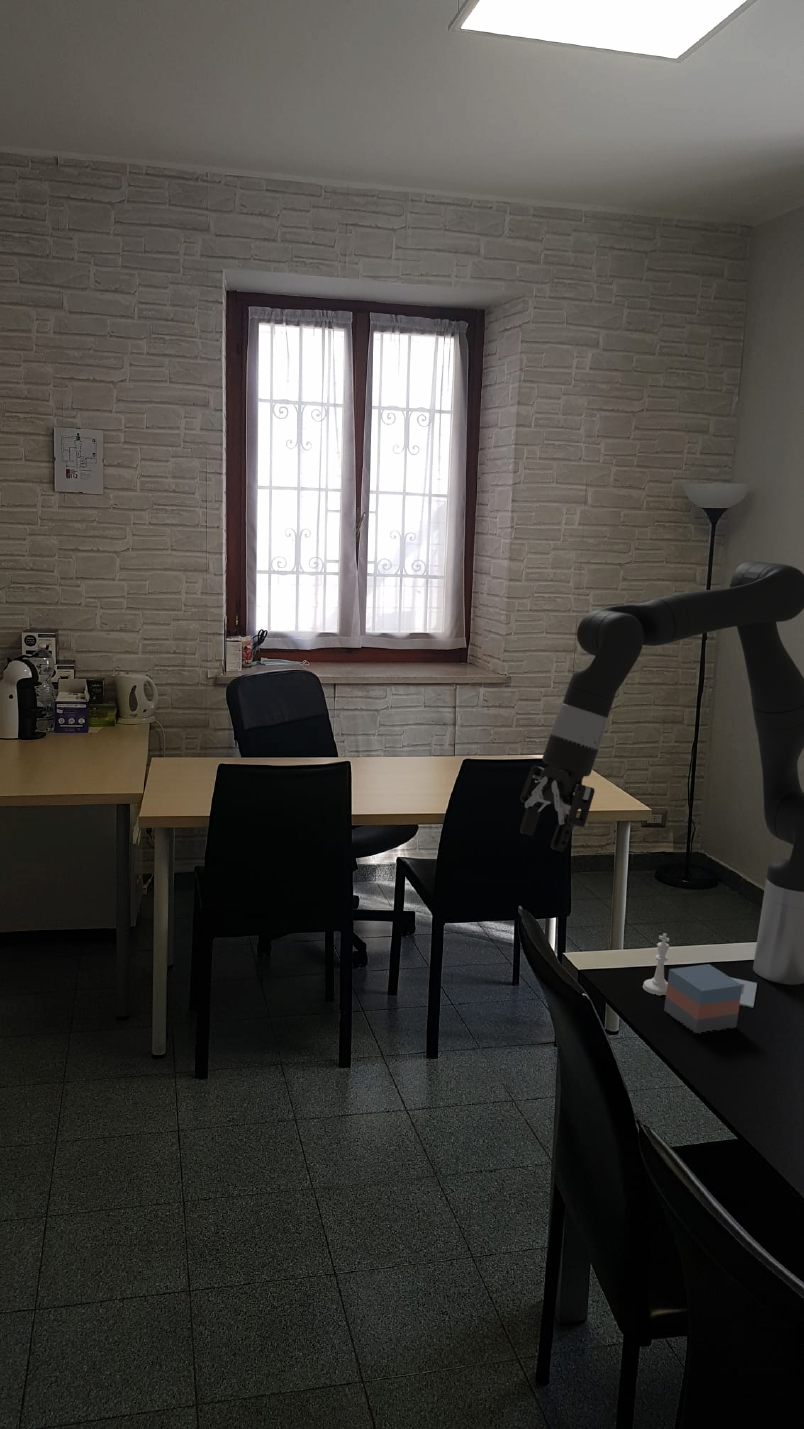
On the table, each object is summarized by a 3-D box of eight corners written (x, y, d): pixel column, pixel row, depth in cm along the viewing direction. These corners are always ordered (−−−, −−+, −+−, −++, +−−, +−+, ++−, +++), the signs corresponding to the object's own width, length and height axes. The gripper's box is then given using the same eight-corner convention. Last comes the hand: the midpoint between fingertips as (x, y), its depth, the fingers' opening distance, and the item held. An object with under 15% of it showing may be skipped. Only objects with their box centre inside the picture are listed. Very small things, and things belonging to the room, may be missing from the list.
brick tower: (663, 1010, 173) (669, 969, 172) (703, 1004, 177) (709, 964, 175) (695, 1033, 166) (701, 991, 165) (736, 1027, 170) (742, 985, 168)
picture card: (715, 975, 188) (715, 973, 188) (756, 984, 186) (757, 982, 186) (709, 998, 179) (710, 995, 179) (753, 1008, 177) (753, 1005, 177)
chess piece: (665, 998, 178) (672, 942, 176) (637, 988, 181) (644, 933, 179) (677, 989, 182) (684, 934, 180) (650, 980, 185) (657, 925, 183)
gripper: (623, 755, 155) (587, 861, 156) (568, 736, 168) (535, 834, 169) (583, 742, 152) (546, 850, 153) (530, 724, 165) (496, 823, 165)
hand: (540, 841), depth 161 cm, fingers open, 8 cm apart
